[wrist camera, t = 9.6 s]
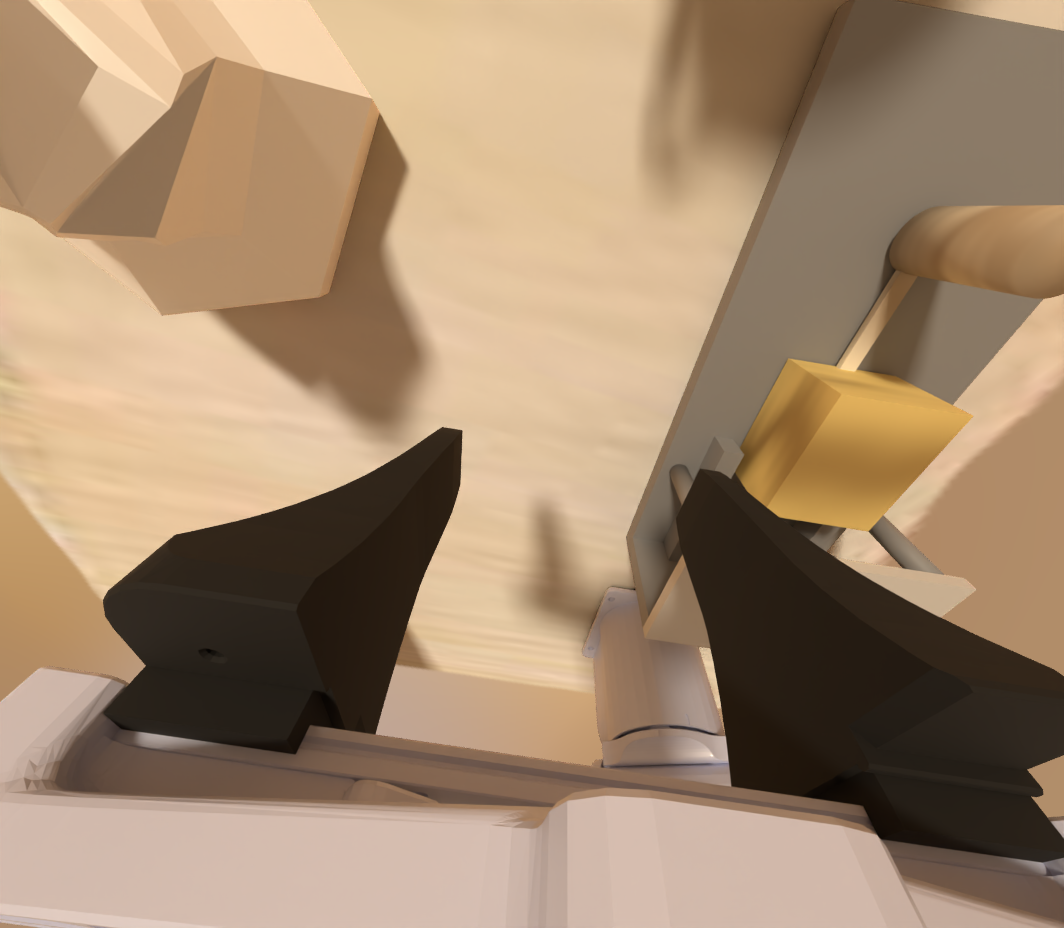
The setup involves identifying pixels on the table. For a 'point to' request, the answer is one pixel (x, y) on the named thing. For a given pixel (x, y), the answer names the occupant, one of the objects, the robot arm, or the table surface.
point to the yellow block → (884, 400)
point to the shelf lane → (863, 259)
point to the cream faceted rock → (185, 143)
